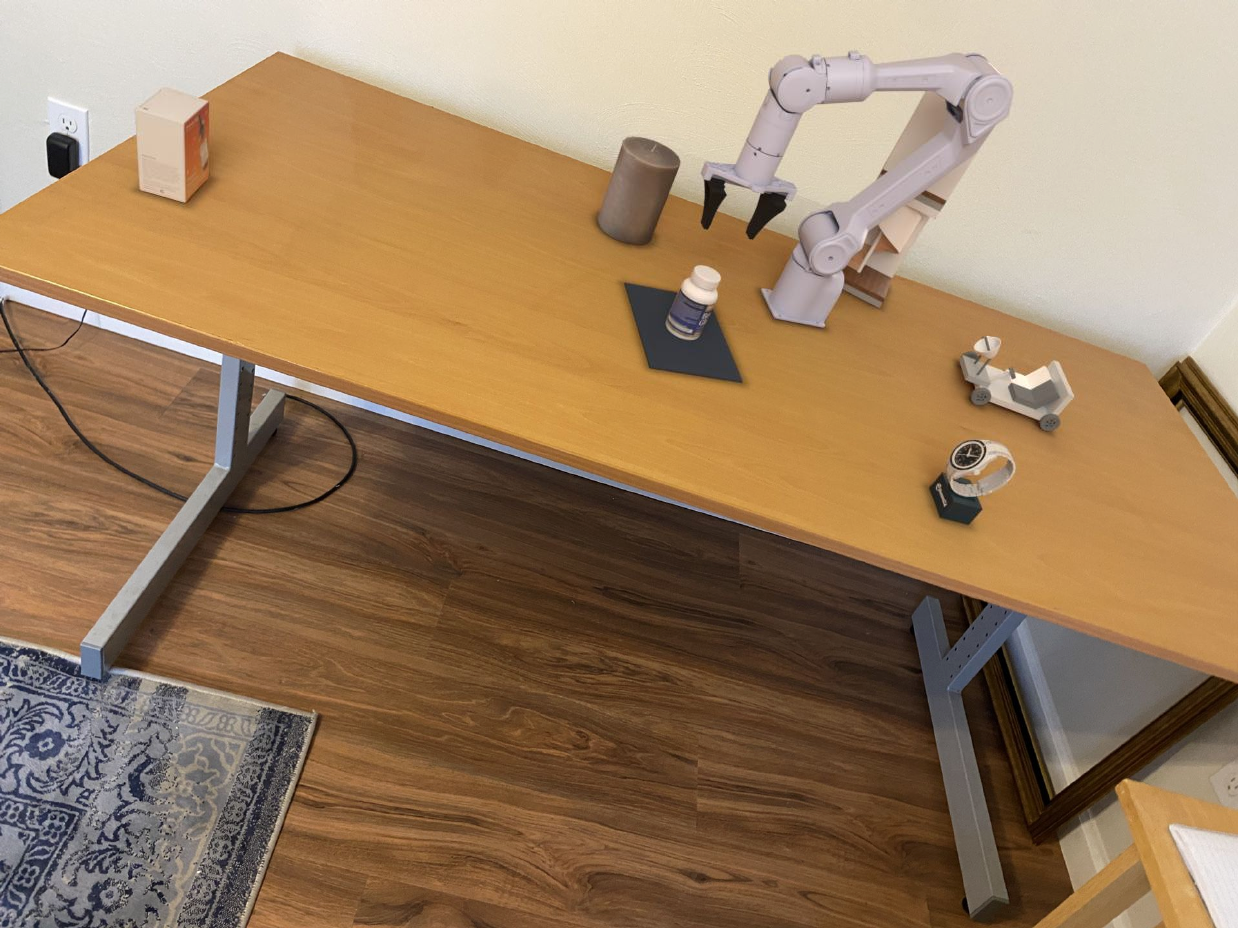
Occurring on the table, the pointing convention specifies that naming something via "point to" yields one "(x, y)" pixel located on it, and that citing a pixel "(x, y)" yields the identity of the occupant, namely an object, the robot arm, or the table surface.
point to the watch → (958, 493)
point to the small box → (172, 144)
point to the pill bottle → (694, 303)
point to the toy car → (1017, 385)
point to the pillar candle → (638, 190)
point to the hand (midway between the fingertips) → (726, 231)
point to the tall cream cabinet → (902, 210)
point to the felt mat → (673, 352)
